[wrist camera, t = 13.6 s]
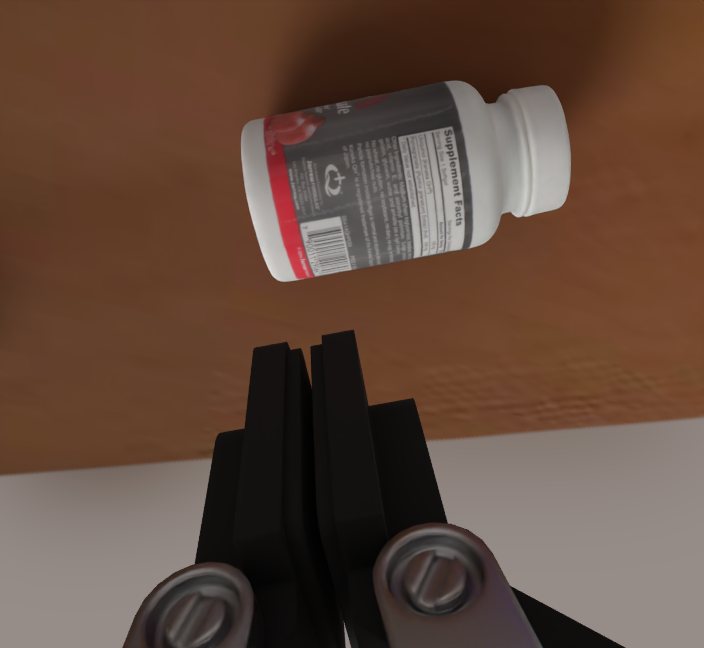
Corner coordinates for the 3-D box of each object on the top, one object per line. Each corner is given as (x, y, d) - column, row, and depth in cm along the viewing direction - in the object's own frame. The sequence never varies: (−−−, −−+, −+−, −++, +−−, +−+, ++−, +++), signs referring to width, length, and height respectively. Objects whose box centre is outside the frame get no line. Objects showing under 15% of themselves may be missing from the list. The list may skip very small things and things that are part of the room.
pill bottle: (248, 115, 22) (521, 62, 22) (282, 259, 24) (532, 212, 24) (226, 128, 17) (578, 60, 17) (270, 307, 19) (586, 249, 19)
